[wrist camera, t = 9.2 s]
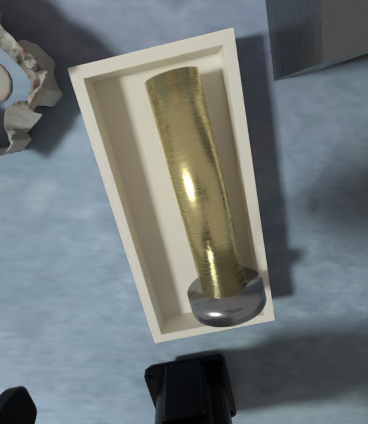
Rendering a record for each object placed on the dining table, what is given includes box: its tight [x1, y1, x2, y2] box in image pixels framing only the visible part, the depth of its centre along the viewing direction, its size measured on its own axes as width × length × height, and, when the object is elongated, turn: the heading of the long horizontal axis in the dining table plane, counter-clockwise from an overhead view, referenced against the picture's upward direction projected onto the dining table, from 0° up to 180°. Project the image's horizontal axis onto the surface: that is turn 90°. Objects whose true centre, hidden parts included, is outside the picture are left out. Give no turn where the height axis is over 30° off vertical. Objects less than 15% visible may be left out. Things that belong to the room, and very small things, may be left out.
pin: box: [144, 66, 267, 327], centre depth 16 cm, size 13×5×5 cm, turn 15°
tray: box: [67, 28, 275, 343], centre depth 17 cm, size 17×8×2 cm, turn 12°
